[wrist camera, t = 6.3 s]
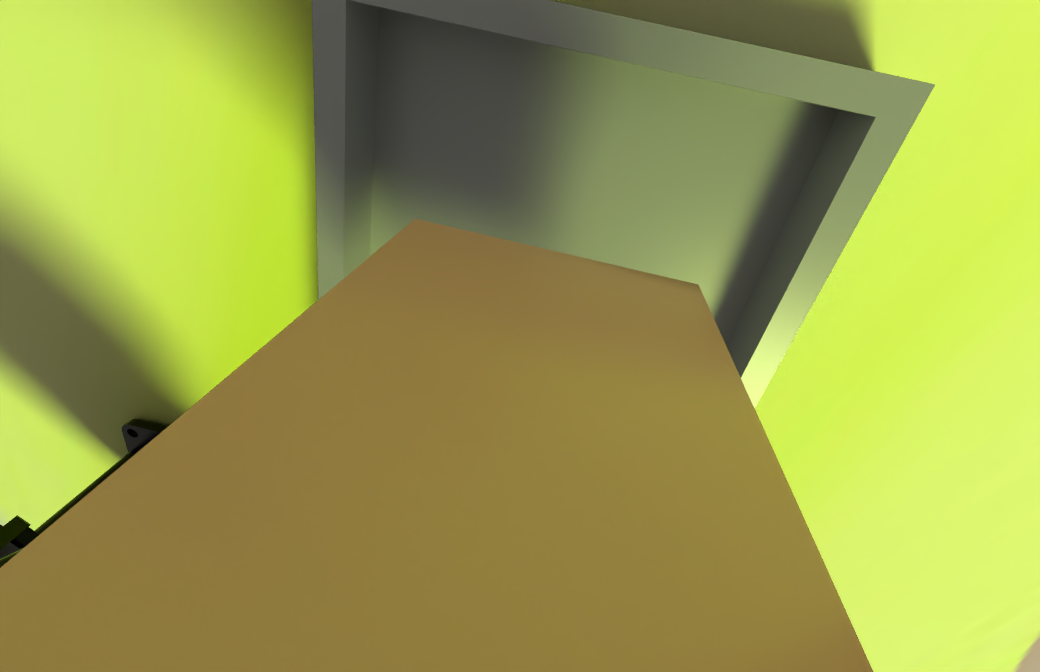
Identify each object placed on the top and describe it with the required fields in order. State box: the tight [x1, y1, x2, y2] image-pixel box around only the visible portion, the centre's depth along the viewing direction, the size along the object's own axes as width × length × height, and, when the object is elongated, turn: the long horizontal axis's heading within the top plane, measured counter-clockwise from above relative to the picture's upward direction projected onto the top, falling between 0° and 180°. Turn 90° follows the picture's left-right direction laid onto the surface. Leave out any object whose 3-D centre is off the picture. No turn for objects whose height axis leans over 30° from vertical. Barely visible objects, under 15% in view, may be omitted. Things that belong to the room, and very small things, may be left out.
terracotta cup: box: [0, 219, 873, 672], centre depth 7 cm, size 6×6×9 cm
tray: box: [312, 0, 935, 409], centre depth 15 cm, size 14×14×2 cm
